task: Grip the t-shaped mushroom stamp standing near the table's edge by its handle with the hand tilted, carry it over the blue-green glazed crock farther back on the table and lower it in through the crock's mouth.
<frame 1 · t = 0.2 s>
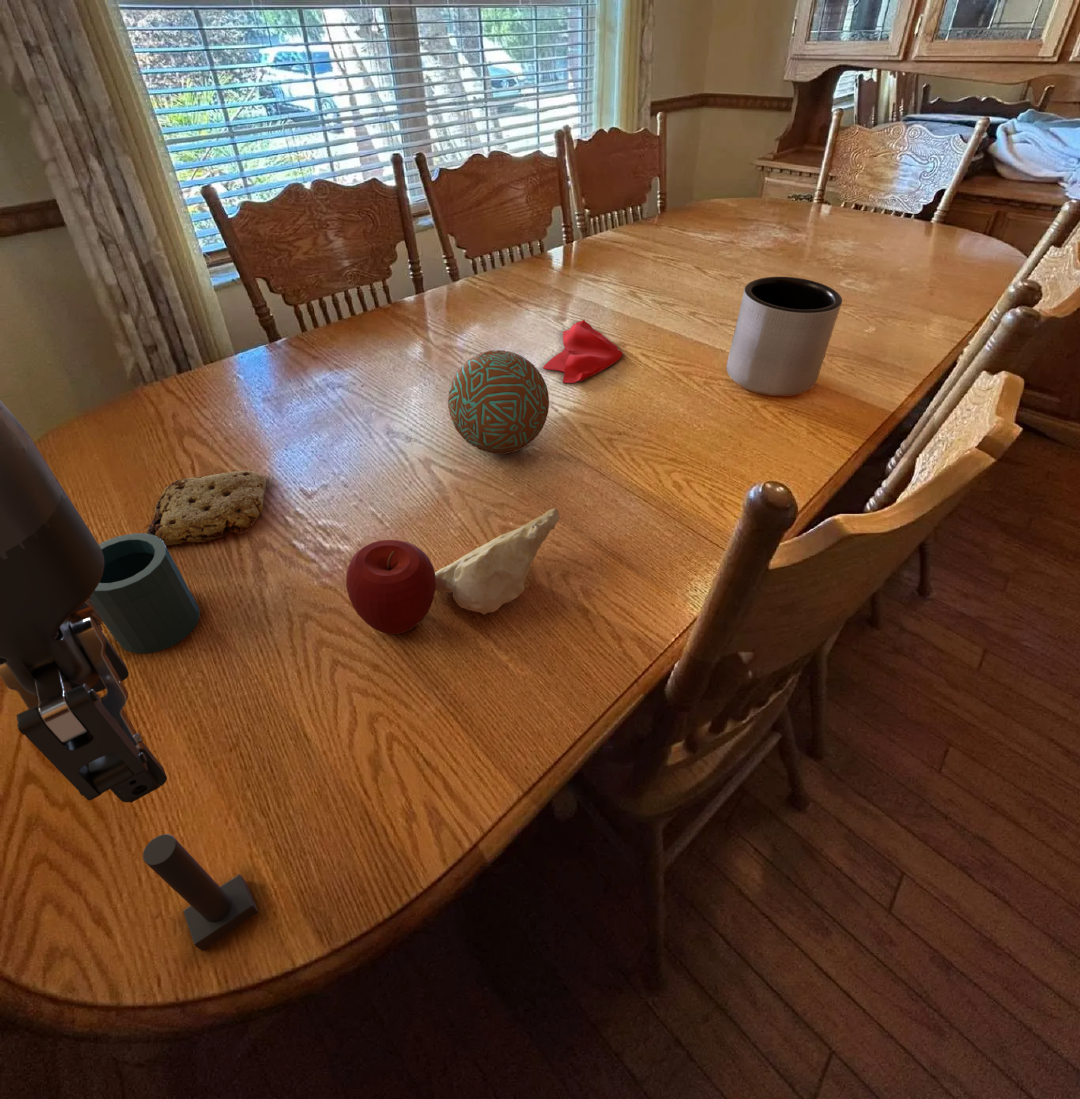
hand: (127, 731, 36), 23 cm above the table, tool pointing down, fingers open, 8 cm apart
planter: (768, 379, 116), on the table
apple: (399, 619, 73), on the table
cloth: (586, 353, 123), on the table
decorative sphere: (500, 446, 99), on the table
t-shaped mushroom stamp: (224, 915, 50), on the table
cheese: (501, 580, 78), on the table
pastry: (211, 512, 87), on the table
crock: (159, 623, 72), on the table
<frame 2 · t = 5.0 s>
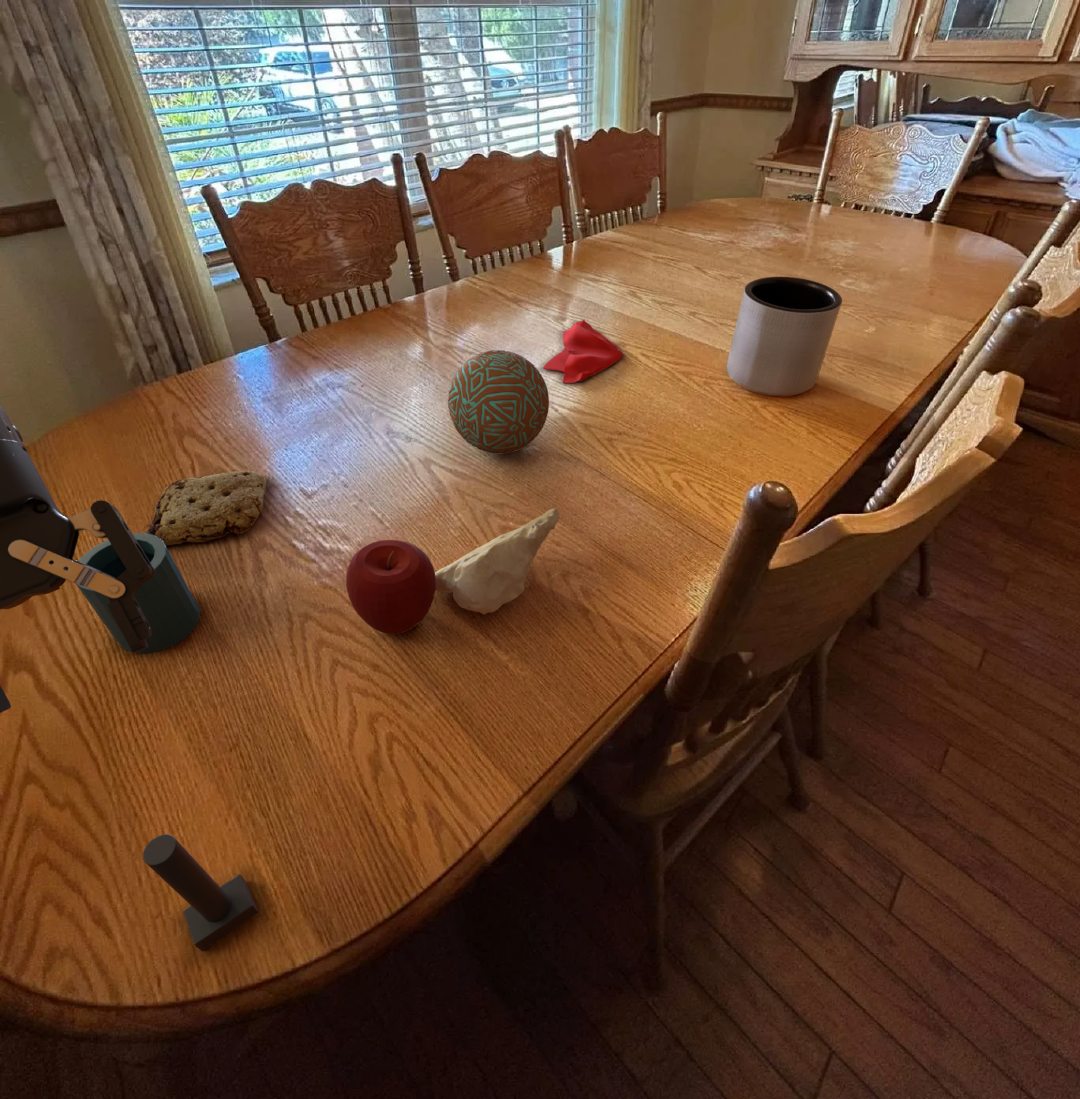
hand: (74, 679, 42), 20 cm above the table, tool tilted 45°, fingers open, 8 cm apart
nothing on the table moved.
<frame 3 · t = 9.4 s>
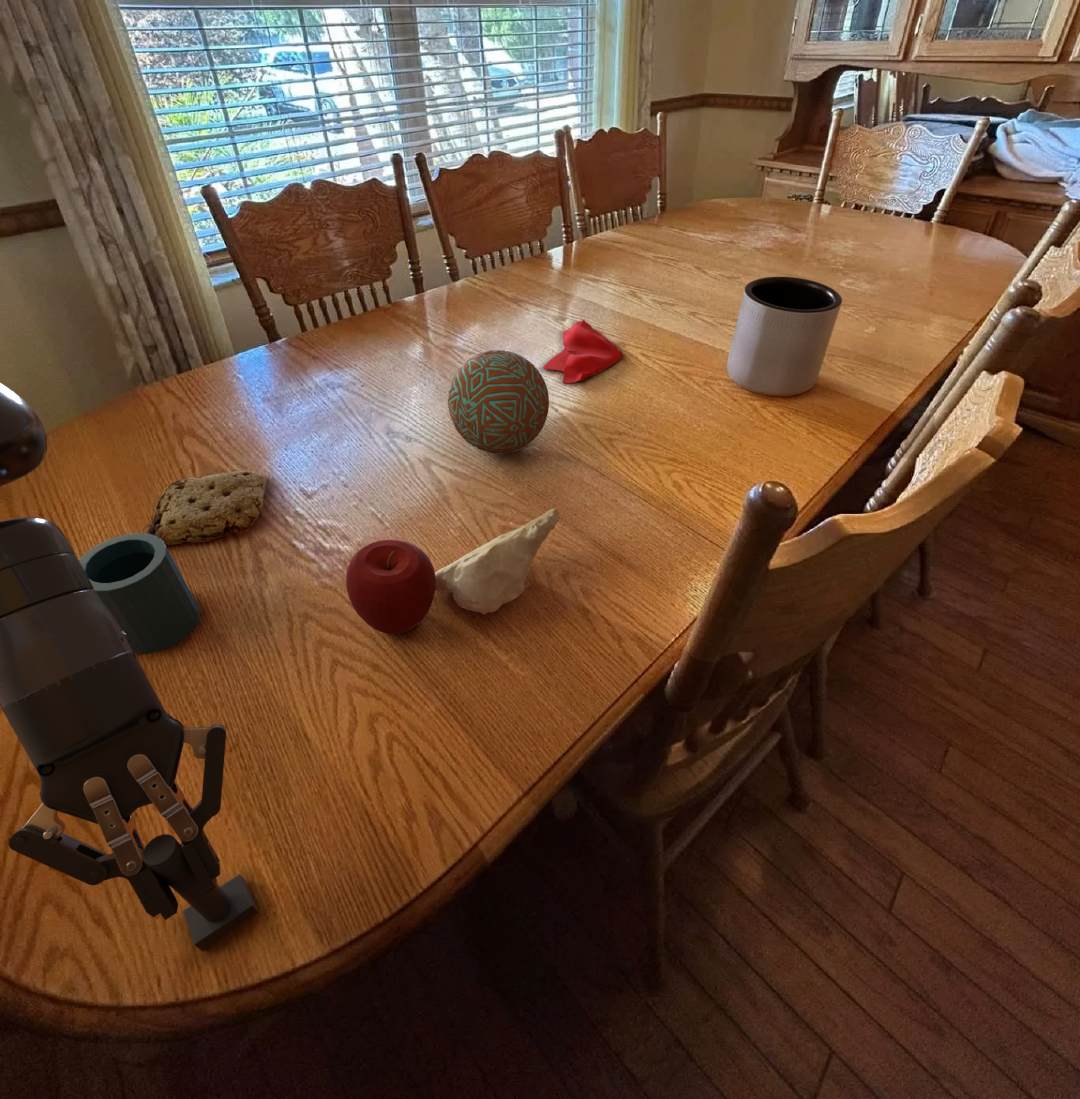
hand: (192, 898, 43), 9 cm above the table, tool tilted 45°, fingers closed on t-shaped mushroom stamp, 2 cm apart
t-shaped mushroom stamp: (224, 914, 50), on the table, touching gripper
everything else where it was.
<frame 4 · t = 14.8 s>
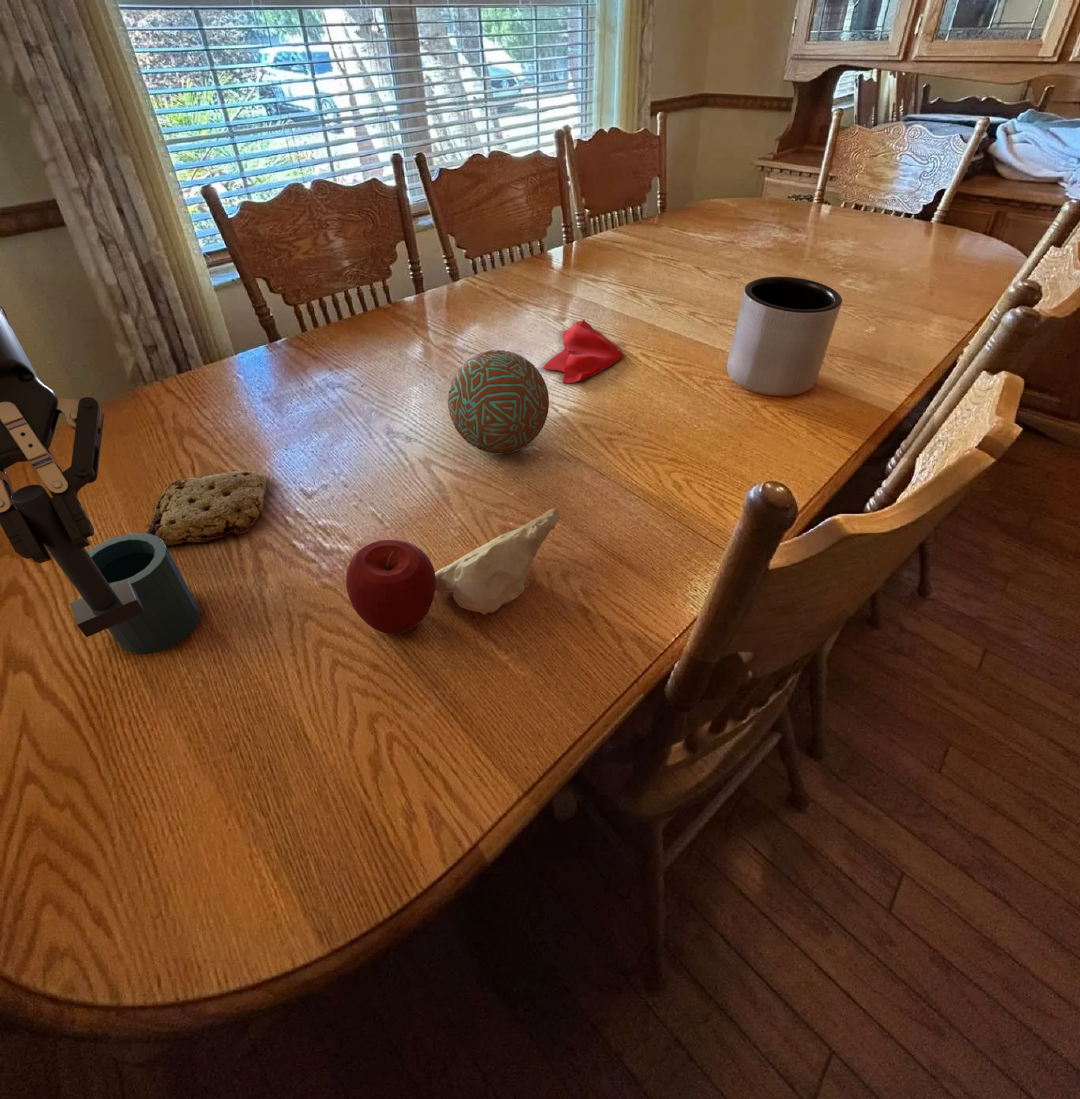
hand: (63, 551, 45), 24 cm above the table, tool tilted 45°, fingers closed on t-shaped mushroom stamp
t-shaped mushroom stamp: (112, 614, 52), point 15 cm above the table, touching gripper
everything else where it was.
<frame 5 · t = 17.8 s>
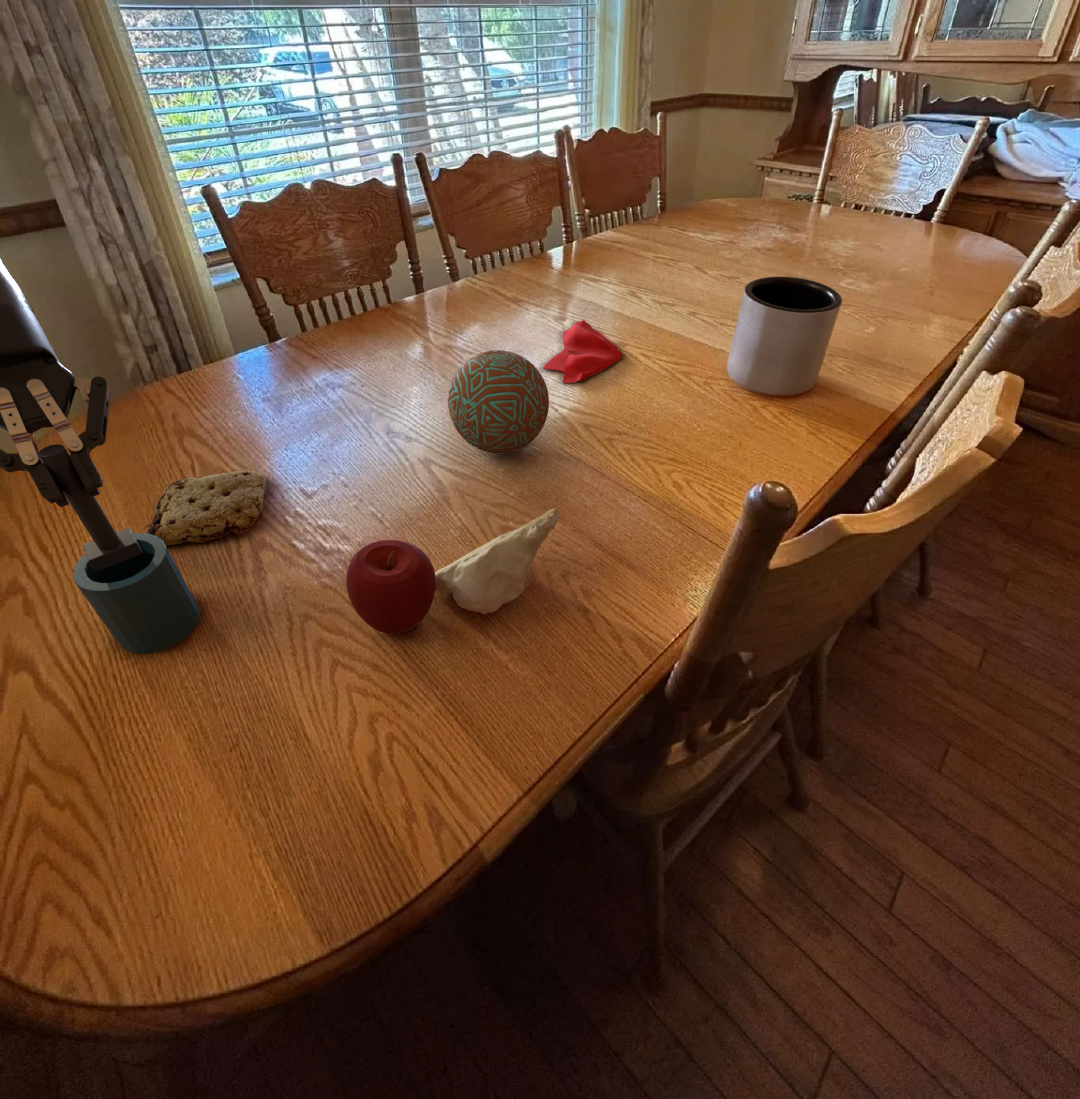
hand: (79, 498, 57), 19 cm above the table, tool tilted 45°, fingers closed on t-shaped mushroom stamp
t-shaped mushroom stamp: (116, 555, 65), point 11 cm above the table, touching gripper
everything else where it was.
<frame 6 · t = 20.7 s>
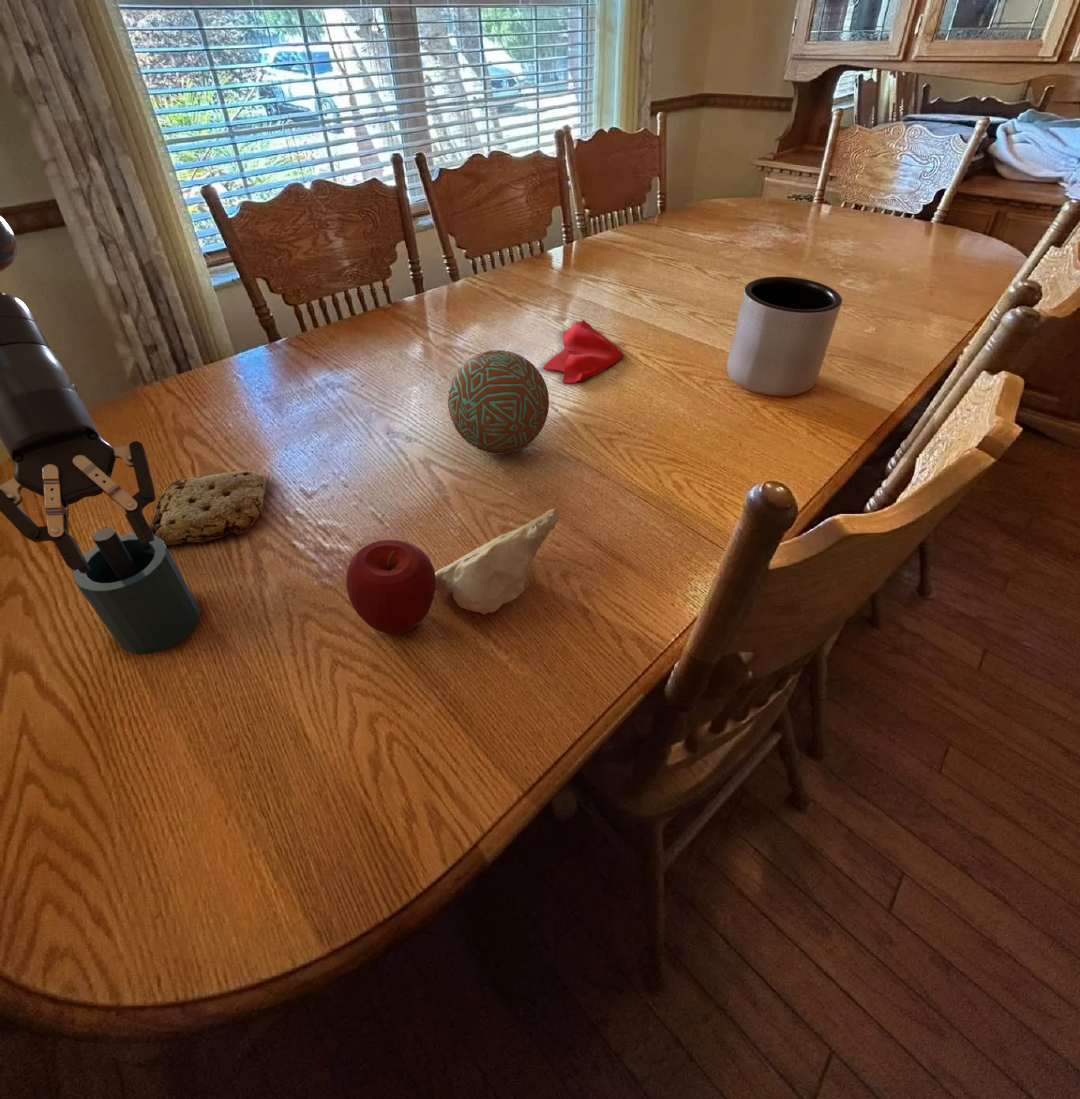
hand: (117, 558, 63), 12 cm above the table, tool tilted 45°, fingers open, 5 cm apart
t-shaped mushroom stamp: (156, 618, 71), point 1 cm above the table, touching crock
everything else where it was.
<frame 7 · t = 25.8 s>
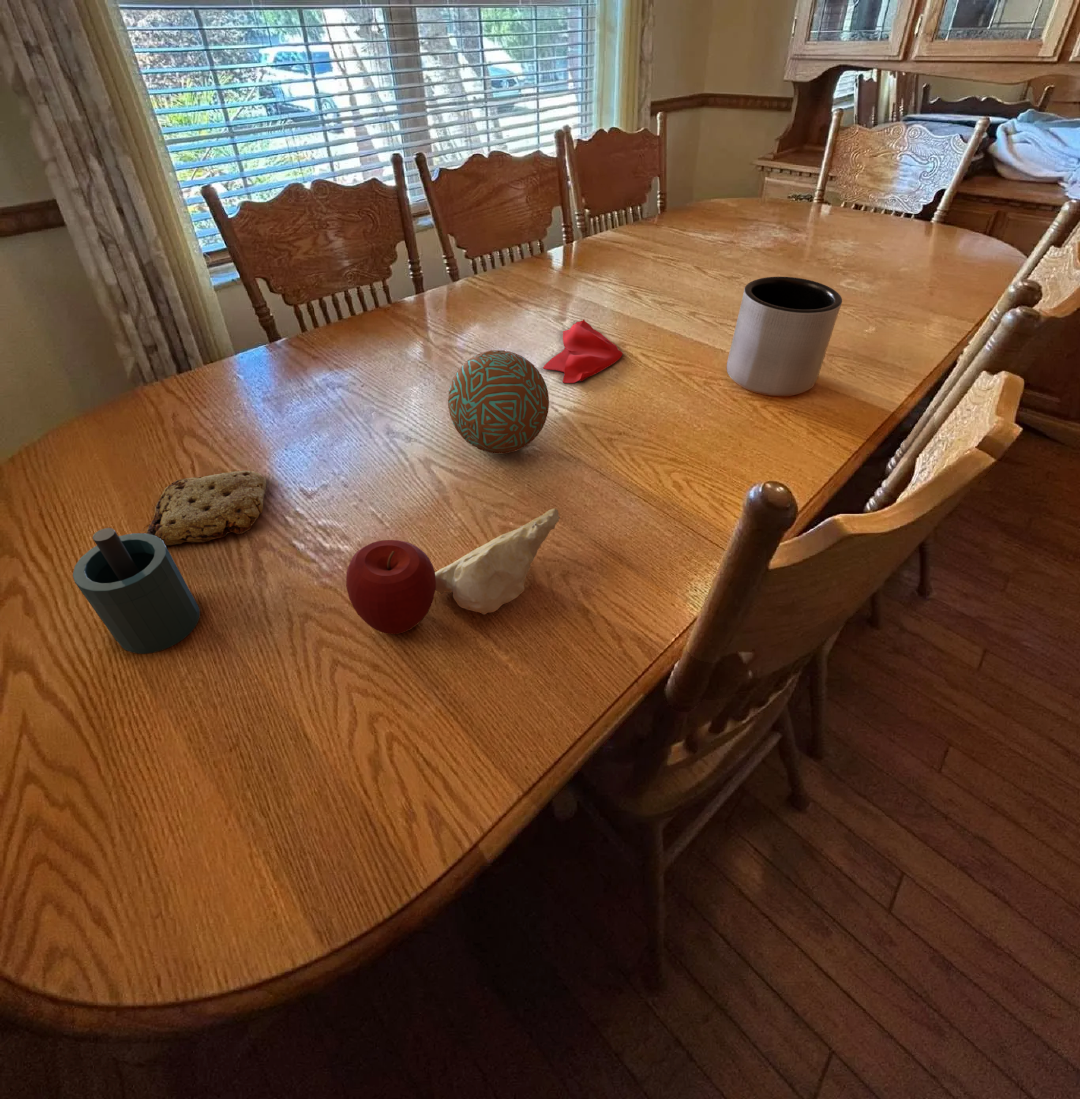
nothing on the table moved.
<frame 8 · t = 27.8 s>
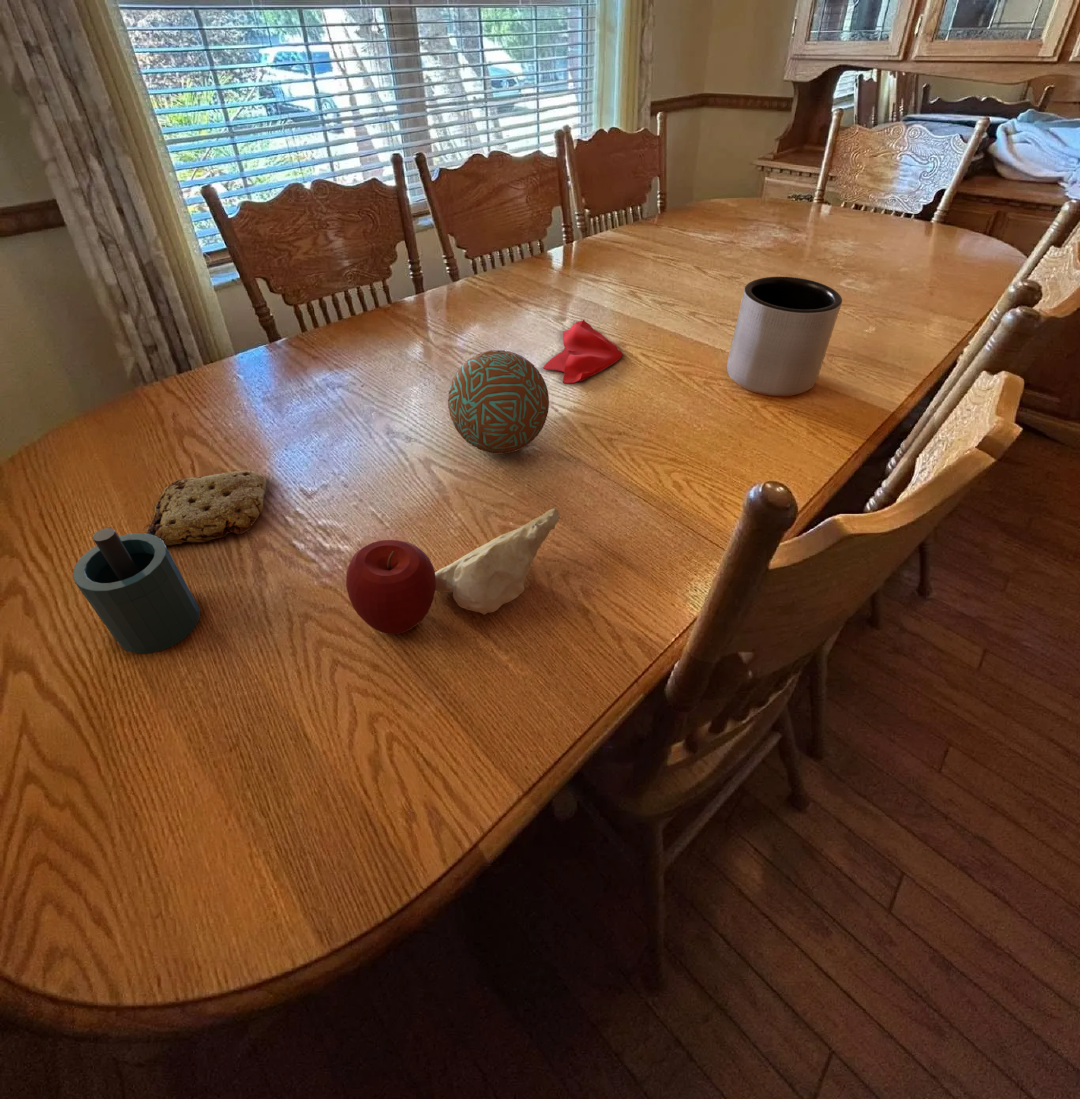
nothing on the table moved.
at the end: t-shaped mushroom stamp 0.0 cm off-centre in the crock, point 0.8 cm above the crock's base; the gripper is holding nothing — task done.
